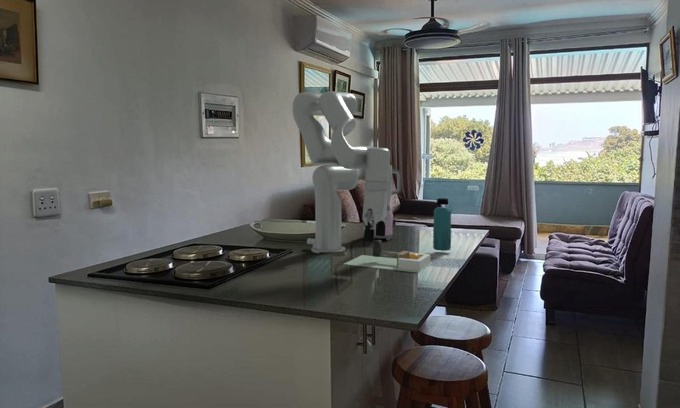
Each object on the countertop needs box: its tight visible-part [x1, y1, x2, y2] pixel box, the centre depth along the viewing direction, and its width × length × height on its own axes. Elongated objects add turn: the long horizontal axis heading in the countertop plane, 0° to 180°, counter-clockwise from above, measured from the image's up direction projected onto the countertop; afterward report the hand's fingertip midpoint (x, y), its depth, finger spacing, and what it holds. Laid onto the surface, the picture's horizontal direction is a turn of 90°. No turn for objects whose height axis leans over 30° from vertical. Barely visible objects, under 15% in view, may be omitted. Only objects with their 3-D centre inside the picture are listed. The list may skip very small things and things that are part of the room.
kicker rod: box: [371, 239, 410, 266], centre depth 162 cm, size 12×6×7 cm, turn 64°
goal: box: [398, 251, 431, 272], centre depth 158 cm, size 7×11×3 cm, turn 154°
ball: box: [408, 252, 420, 260], centre depth 158 cm, size 4×4×4 cm
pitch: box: [343, 254, 434, 274], centre depth 162 cm, size 25×15×1 cm, turn 64°
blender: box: [363, 164, 402, 242], centre depth 209 cm, size 16×12×32 cm
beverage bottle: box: [432, 197, 452, 252], centre depth 182 cm, size 6×7×20 cm
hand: (374, 238), depth 164 cm, fingers open, 9 cm apart
